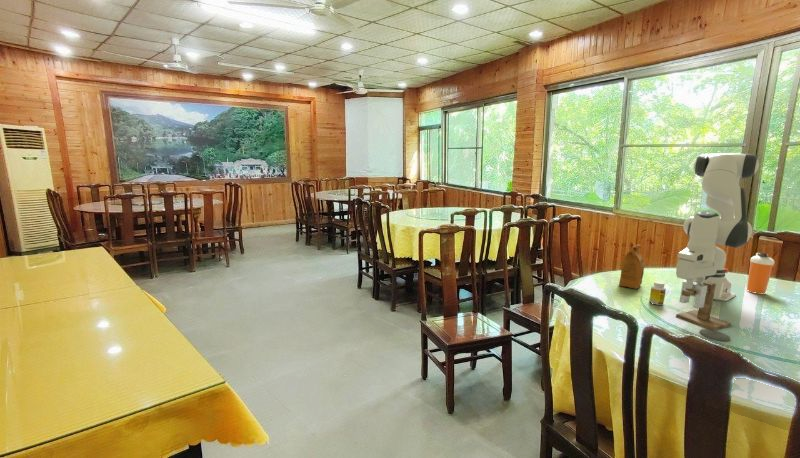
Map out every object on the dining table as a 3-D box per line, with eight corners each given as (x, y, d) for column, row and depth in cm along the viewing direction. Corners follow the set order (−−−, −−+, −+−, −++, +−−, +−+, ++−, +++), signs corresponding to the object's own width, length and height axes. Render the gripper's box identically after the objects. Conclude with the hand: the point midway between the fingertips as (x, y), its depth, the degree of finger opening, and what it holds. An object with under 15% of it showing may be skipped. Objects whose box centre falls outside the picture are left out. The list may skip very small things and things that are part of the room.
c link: (684, 301, 158) (688, 280, 156) (703, 307, 152) (707, 285, 150) (679, 302, 157) (682, 281, 155) (698, 308, 150) (702, 286, 149)
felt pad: (708, 329, 152) (708, 327, 152) (735, 339, 144) (735, 337, 144) (694, 332, 149) (694, 331, 149) (720, 343, 141) (721, 341, 140)
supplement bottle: (659, 307, 174) (663, 285, 172) (646, 303, 179) (649, 281, 177) (665, 304, 177) (669, 283, 176) (652, 300, 182) (655, 280, 180)
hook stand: (693, 312, 168) (699, 276, 165) (730, 325, 156) (738, 286, 153) (661, 319, 160) (667, 281, 157) (698, 334, 147) (705, 293, 144)
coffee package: (645, 286, 204) (651, 245, 200) (637, 291, 195) (643, 248, 191) (624, 281, 211) (629, 241, 207) (615, 285, 203) (621, 245, 199)
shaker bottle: (748, 293, 197) (756, 255, 193) (741, 288, 205) (748, 251, 201) (771, 296, 193) (779, 257, 190) (762, 290, 201) (770, 253, 198)
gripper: (707, 249, 157) (701, 282, 160) (675, 253, 149) (669, 287, 152) (725, 253, 152) (718, 287, 154) (693, 257, 144) (686, 293, 146)
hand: (694, 287), depth 153 cm, fingers closed on c link, 3 cm apart
